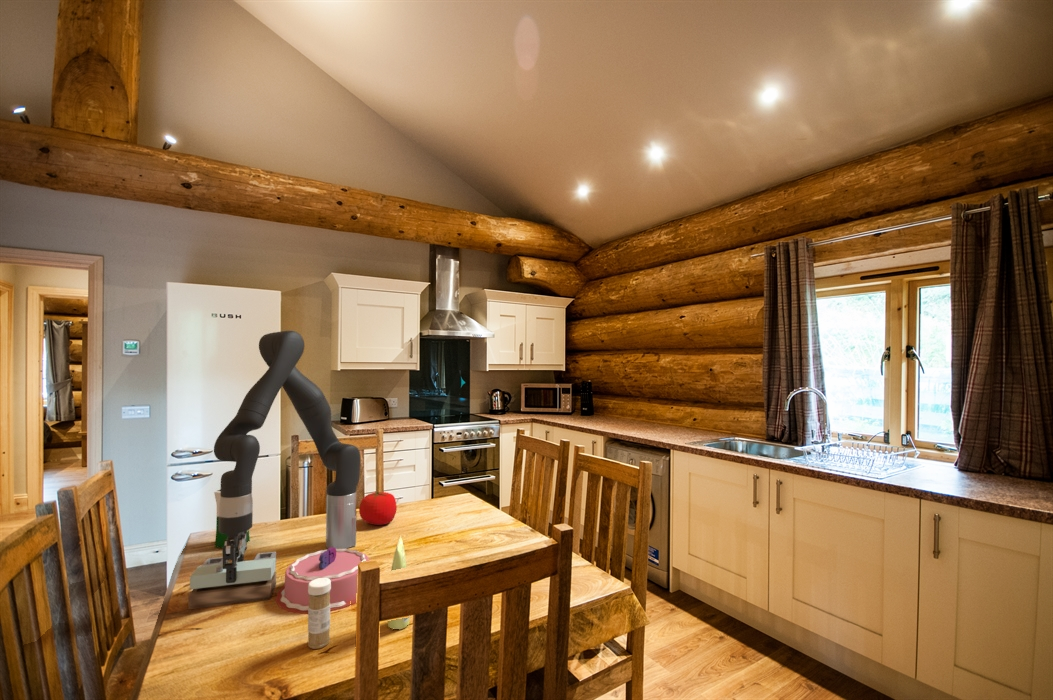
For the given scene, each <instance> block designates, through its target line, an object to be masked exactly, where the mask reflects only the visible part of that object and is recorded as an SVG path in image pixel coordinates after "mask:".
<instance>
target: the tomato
mask: <svg viewBox="0 0 1053 700" xmlns="http://www.w3.org/2000/svg"><path fill="white" fill-rule="evenodd" d="M396 501H397V500H396V497H395V495H394V494H392V493H389V492H386V491H385V492H384V491H374V492H371V493H368V494H367V495H365V496H363V498H362V499H361V501H360V504H359V508H358V510H359V511H358V512H359V516H360V518H361V520H362V521H363V522H365V523H367V524H371V525H374V526H375V525H376V526H378V525H379V526H380V525H381V526H383V525H387V524H389V523H391V522H392V521H393V519H394V518H395V516H396V515H397V514H396V513H397V502H396Z"/></svg>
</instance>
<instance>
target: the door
mask: <svg viewBox="0 0 1053 700" xmlns="http://www.w3.org/2000/svg"><path fill="white" fill-rule="evenodd" d="M264 556H269V558H262V557H264ZM214 561H219V563H212V562H214ZM230 563H232V561H231V562H230ZM276 566H277V551H268V552H259V553H257V554H256V555H255V557H254V559H251V560H244V561H241V562H237V580H236V581H235V582H234V583H226V569H223V556H218V557H210V558H209V557H208V558H207V559H206V560H205V561H204V562H203V564H202V565H198V566H197V567H196V568H195V570H194V571H192V573H191V575H190V576H189V589H190V590H193V589H198V588H206V587H215V586H223V585H232V584H240V583H249V582H257V581H266V580H271V579H272V576H273V574H274V572H276Z"/></svg>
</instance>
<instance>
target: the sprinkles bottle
mask: <svg viewBox="0 0 1053 700" xmlns="http://www.w3.org/2000/svg"><path fill="white" fill-rule="evenodd" d="M330 589H331V581H330V579H328V578H318V579H315V580H312V581H311V582H310V583H309V584H308V593H309V607H308V615H307V616H308V617H307V619H308V620H307V625H308V626H307V631H308V635H307V636H308V640H307V647H308V648H310V649H313V650H315V649H322V648H325V647H326V646H327V645H328V644H329V643H330V640H331V638H330V628H331V612H330Z"/></svg>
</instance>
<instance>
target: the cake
mask: <svg viewBox="0 0 1053 700" xmlns="http://www.w3.org/2000/svg"><path fill="white" fill-rule="evenodd" d="M363 561H370V558H369V556H368V555H367V554H365V553H364V552H361V551H359V550H357V549H350V548H345V549H336V548H333V547H331V548H329V549H328V548H327V549H324V550H323V549H321V550H318V551H315V552H311V553H307V554H305V555H304V556H302V557H300V558H297V559H296V560H295V561H292V562H291V563H290V564H289V565H288V566H287V568H286V569H285V573H284V585H283V586H281V588H280V589H279V590H278V591H277V594H276V597H275V601H276V604H277V606H278V607H280V608H281V609H283V610H284V611H287V612H290V613H295V614H304V615H305V614H306V615H307V614H308V607H309V593H308V584H309V583H310V582H311V581H312V580H315V579H318V578H328V579H330V581H331V589H330V613H331V612H335V611H338V610H342V609H346V608H348V607H351V606H354V605H356V604H357V603H356V593H357V574H358V564H359V563H360V562H363ZM350 601H351V604H350ZM350 605H351V606H350Z"/></svg>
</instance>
